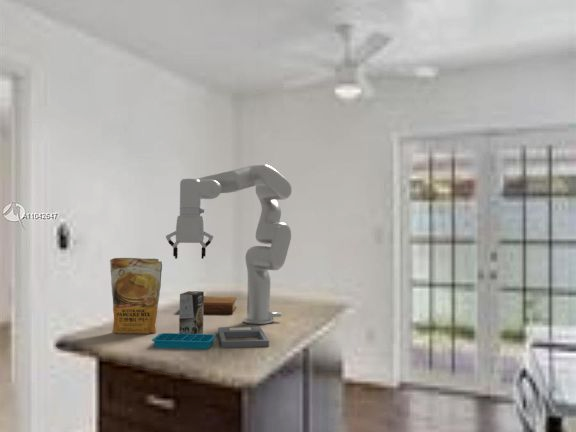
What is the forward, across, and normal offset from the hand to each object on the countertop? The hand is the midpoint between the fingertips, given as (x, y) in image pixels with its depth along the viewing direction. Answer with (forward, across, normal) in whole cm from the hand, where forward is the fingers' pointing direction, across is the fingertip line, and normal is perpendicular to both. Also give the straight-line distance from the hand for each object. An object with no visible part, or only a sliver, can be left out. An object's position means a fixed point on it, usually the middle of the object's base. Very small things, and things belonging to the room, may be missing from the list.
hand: (189, 258), depth 216 cm
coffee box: (+29, -1, +1) cm, 29 cm away
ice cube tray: (+29, +1, +15) cm, 33 cm away
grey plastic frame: (+28, -20, +8) cm, 35 cm away
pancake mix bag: (+29, +20, -7) cm, 36 cm away
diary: (+29, -7, -53) cm, 61 cm away
